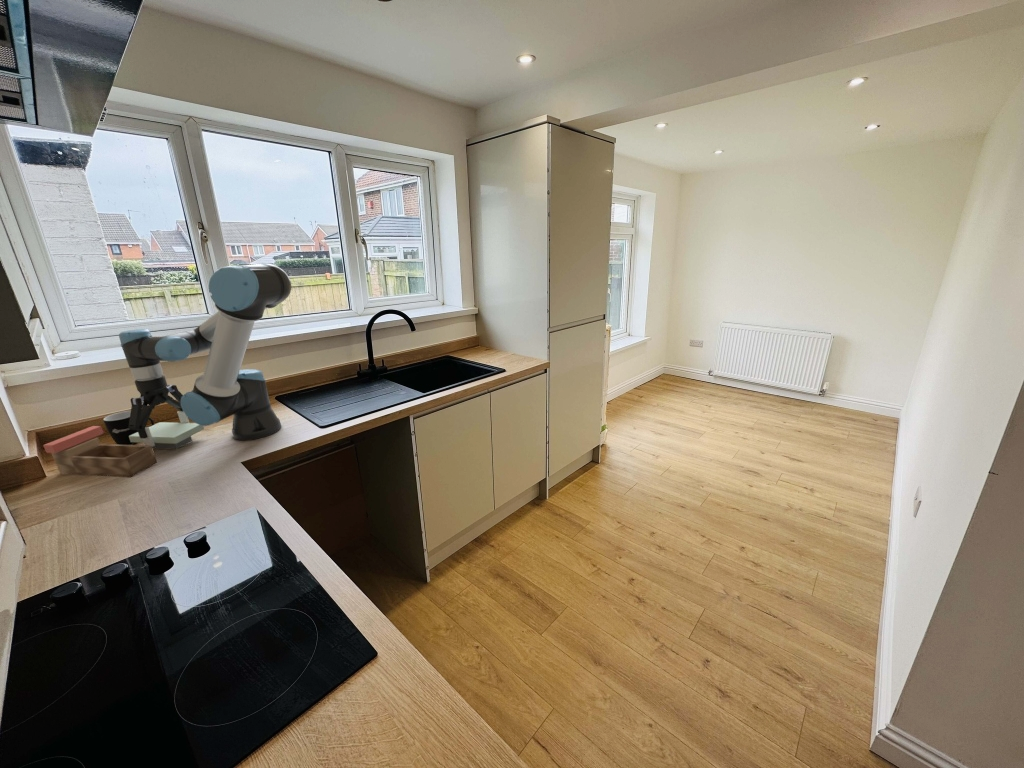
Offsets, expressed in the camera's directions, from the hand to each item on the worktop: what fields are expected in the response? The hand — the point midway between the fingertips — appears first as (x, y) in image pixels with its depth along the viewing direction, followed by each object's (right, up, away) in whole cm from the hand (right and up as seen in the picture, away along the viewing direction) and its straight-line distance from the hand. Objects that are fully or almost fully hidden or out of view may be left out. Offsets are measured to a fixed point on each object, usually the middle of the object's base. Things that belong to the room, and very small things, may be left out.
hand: (169, 436), depth 137 cm
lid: (0, 0, 0) cm, 1 cm away
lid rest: (0, -3, +1) cm, 3 cm away
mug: (-16, -2, +5) cm, 17 cm away
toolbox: (-7, -8, -13) cm, 17 cm away
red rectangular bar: (-15, 0, -15) cm, 22 cm away
